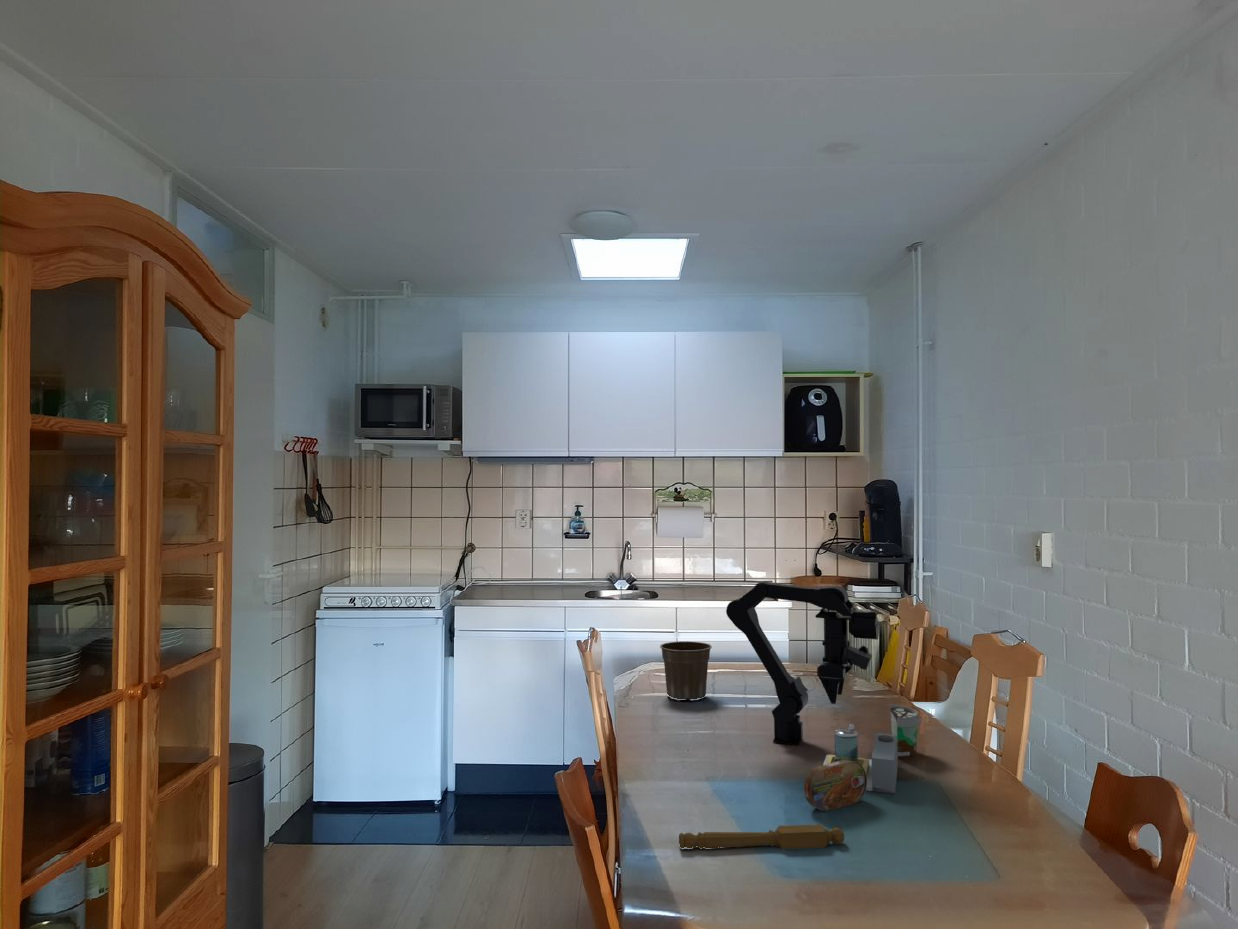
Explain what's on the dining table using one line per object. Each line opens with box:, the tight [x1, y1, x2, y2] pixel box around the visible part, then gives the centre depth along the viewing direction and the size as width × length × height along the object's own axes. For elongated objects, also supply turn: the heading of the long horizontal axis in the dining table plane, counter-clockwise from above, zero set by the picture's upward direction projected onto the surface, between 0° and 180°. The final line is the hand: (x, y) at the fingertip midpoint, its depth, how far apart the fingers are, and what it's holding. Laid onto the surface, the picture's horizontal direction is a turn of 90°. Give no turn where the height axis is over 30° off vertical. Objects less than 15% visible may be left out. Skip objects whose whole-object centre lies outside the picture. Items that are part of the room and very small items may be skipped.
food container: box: [889, 704, 921, 760], centre depth 187 cm, size 12×6×10 cm, turn 168°
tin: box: [803, 760, 867, 813], centre depth 157 cm, size 15×3×8 cm, turn 117°
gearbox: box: [822, 732, 899, 795], centre depth 173 cm, size 16×18×8 cm
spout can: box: [833, 723, 859, 763], centre depth 175 cm, size 5×5×10 cm
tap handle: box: [678, 823, 845, 850], centre depth 139 cm, size 3×3×30 cm
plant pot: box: [659, 640, 712, 699], centre depth 243 cm, size 16×16×16 cm
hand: (836, 699), depth 193 cm, fingers open, 9 cm apart
